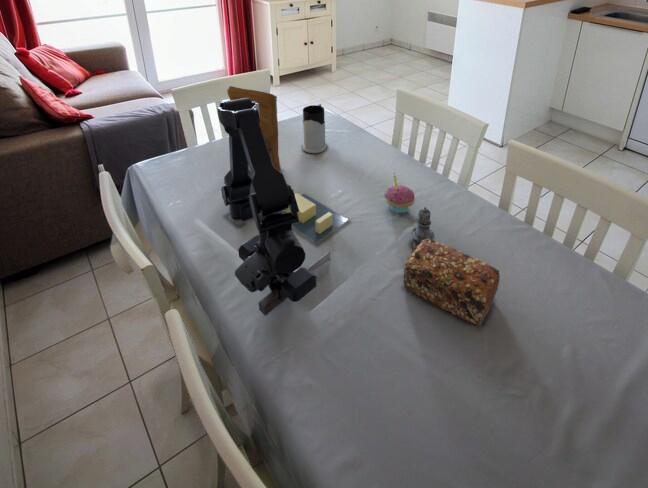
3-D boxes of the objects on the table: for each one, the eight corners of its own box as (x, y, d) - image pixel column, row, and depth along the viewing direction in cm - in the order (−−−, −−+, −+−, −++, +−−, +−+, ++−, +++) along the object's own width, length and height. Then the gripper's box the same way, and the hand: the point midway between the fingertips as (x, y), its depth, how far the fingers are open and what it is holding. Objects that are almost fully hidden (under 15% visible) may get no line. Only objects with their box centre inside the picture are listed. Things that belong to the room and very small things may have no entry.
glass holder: (299, 151, 153) (297, 113, 147) (310, 133, 166) (309, 97, 160) (323, 154, 151) (322, 115, 146) (332, 135, 164) (332, 99, 159)
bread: (497, 298, 95) (503, 263, 91) (479, 333, 87) (485, 296, 83) (422, 261, 105) (425, 228, 101) (400, 289, 97) (402, 254, 93)
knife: (259, 310, 90) (258, 301, 89) (326, 257, 104) (326, 249, 103) (265, 315, 89) (264, 307, 88) (332, 261, 102) (332, 253, 101)
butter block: (283, 211, 120) (282, 200, 119) (297, 203, 124) (296, 192, 123) (302, 223, 116) (302, 213, 114) (316, 214, 119) (316, 204, 118)
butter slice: (315, 231, 113) (315, 220, 111) (328, 222, 116) (328, 211, 115) (319, 234, 112) (319, 223, 110) (332, 224, 115) (332, 214, 114)
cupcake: (380, 214, 121) (381, 178, 117) (389, 197, 129) (391, 163, 124) (409, 222, 118) (412, 185, 114) (417, 204, 126) (420, 169, 121)
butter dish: (272, 215, 120) (272, 212, 120) (304, 196, 129) (303, 193, 128) (316, 245, 109) (316, 242, 109) (348, 222, 118) (348, 219, 117)
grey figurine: (432, 255, 107) (436, 216, 102) (409, 251, 108) (412, 212, 103) (433, 239, 112) (437, 201, 108) (411, 236, 113) (414, 198, 109)
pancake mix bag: (274, 178, 137) (268, 97, 126) (232, 161, 146) (224, 84, 136) (288, 168, 142) (284, 90, 132) (247, 152, 152) (240, 78, 141)
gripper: (212, 237, 86) (220, 295, 92) (271, 286, 74) (276, 349, 80) (258, 211, 94) (263, 266, 99) (317, 252, 82) (319, 311, 88)
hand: (278, 296), depth 92 cm, fingers closed on knife, 2 cm apart
